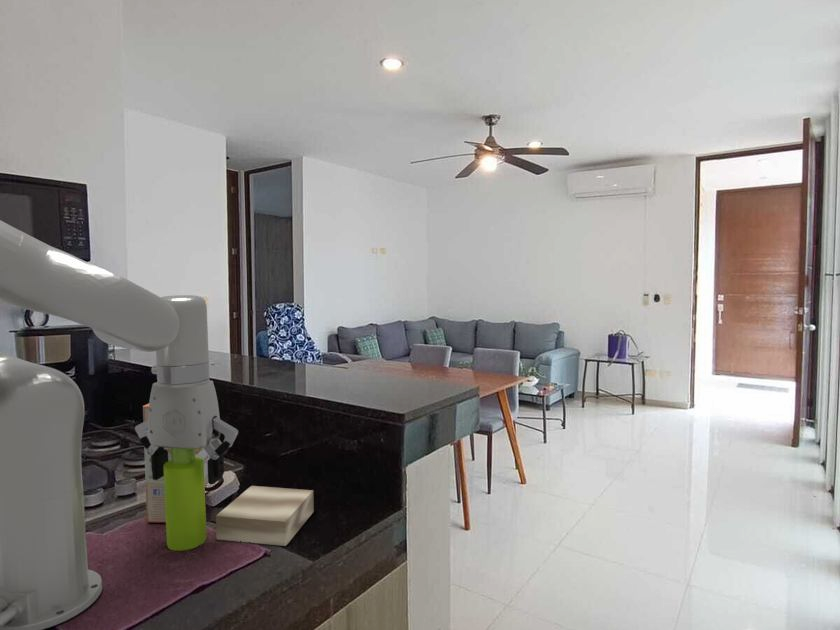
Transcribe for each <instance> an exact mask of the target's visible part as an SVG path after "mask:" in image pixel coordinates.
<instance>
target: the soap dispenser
mask: <svg viewBox="0 0 840 630" xmlns="http://www.w3.org/2000/svg"><path fill="white" fill-rule="evenodd" d="M171 450H172V460H170V461H168V462H166V463H165V464H164V466H163V469H164V491H165V513H166V523H165V528H166V529H165V531H166V546H167V548H168V549H169V550H170V551H175V552H176V551H177V552H178V551H179V552H182V551H188V550H192V549H195V548H197V547H200V546H201V545H203V544H204V543H205V542H206V541H207V513H206V509H207V508H206V495H205V482H204V460H203V459H202V458H200V457H195V449H182V448H171ZM205 540H206V541H205ZM199 545H200V546H199Z"/></svg>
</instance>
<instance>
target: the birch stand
mask: <svg viewBox="0 0 840 630" xmlns="http://www.w3.org/2000/svg"><path fill="white" fill-rule="evenodd" d="M314 504H315V503H314V490H313V489H311V490H310V489H302V488H301V489H298V488H286V487H285V488H284V487H275V486H259V485H258V486H257V485H251V486H249V487H248V488H246V490H244V491H243V492H242V493H241V494H240V495H239V496H238V497H236V498H235V499H234V500H232V501H231V502H230V503H229V504H228V505H227V506H225V507H224V508H222V510H221V511H220V512H218V513H217V514H216V515H215V531H216V533H215V534H216V540H220V541H230V542H240V541H241V542H242V543H249V542H250V543H249V544H251V543H252V544H261V545H262V544H263V545H272V546H280V547H281V546H284V547H286V546H287V545H288V544H289V543H290V542H291V541H292V539H293V538H294V537H295V535H296V534H297V533H298V532H299V531H300V529H301V528H302V527H303V525H304V524H305V523H306V522H307V520H308V519H309V518H310V517H311V516H312V514H314V512H315V509H314Z"/></svg>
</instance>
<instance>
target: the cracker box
mask: <svg viewBox="0 0 840 630" xmlns="http://www.w3.org/2000/svg"><path fill="white" fill-rule="evenodd" d="M148 413H149V403H147V404H145V405H142V419H143V422H145V421H147V420H148ZM143 422H142V423H143ZM143 447H144V446H143ZM164 449H166V450H167V451H168V461H170V460H172V450H171V448H166V447H165V448H164ZM143 450H144V453H143V454H144V475H145V476H144V477H145V479H144V480H145V506H146V522H147V523H152V524H153V523H158V524H160V523H163V524H164V523H165V524H166V513H165V491H164V476H163V477H161V478H159V479H158V480H153V477H152V467H151V456H150V455H148V454H147V449H146V448H145V447H144V448H143ZM195 457H200V458H202V459H203V460H204V482H205V487H206V486H207V484H208V464H207V462H208V460H209V459H210V458H211V457H210V456H209V455H208V453H207V452H206V451H205V449H204V448H201V449H195Z"/></svg>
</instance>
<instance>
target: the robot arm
mask: <svg viewBox="0 0 840 630" xmlns="http://www.w3.org/2000/svg"><path fill="white" fill-rule="evenodd" d="M0 301H1V302H4V303H7V304H9V305H11V306H16V307H19V308H21V309H24V310H28V311H30V312H36V313H39V314H40V313H41V314H45V315H50V316H54V317H59V318H61V319H65V320H68V321H71V322H74V323H77V324H79V325H83V326H85V327H88V328H91V329H92V331H93V334H95V336H96V337H97V339H99V340H100V341H102V342H104V343H106V344H107V345H110V346H114V347H118V348H124V349H129V350H130V349H131V350H135V351H140V352H145V353H152V352H155V359H156V365H152V367H151V369H150V370H151V373H152V374H153V375H156V380H157V382H156V381H155V382H154V383H152V386H151V391H150V396H149V400H148V401H149V402H148V404H149V413H148V420H147V421H145V422H141V423H139V424H137V425H136V426H135V427H134V430H135V432H136V434H137V436H138V438H139V440H140V441H139V442H140V444H141V445H142V446H143V447H145V448H146V449H147V454H148V455H150V456H151V467H152V477H153V480H158V479H159V478H161V477H163V476H164V469H163V466H164V464H165V463H166V462H168V451H167V450H166V449H164V448H165V447H166V448H182V449H201V448H204V449H205V451H206V452H207V453H208V455H209V457H210V459H209V460H208V462H207V464H208V483H209V484H210V485H214V484H215V483H217V482H218V481H220V480H221V479H222V478H223V477H224V474H225V464H224V463H225V461H224V457H225V456H224V455H225V454H226V453H227V452H228V451H229V450H230V449H231V448H232V447H233V445H234V443H235V440H236V438H237V436H238V434H239V430H238V429H237V428H236V427H234V426H232V425H230V424H229V423H227V422H225V421H223V420H222V419H221V417H220V409H219V401H218V400H219V399H218V396H217V391H216V388H215V385H214V381H213V380H210V362H209V360H210V358H209V357H210V355H209V354H210V353H209V332H208V330H209V328H208V307H207V303H206V300H205V299H204V298H203V297H202V296H199V295H191V294H190V295H187V294H186V295H185V294H184V295H183V294H181V295H180V294H179V295H166V296H165V295H164V296H159V295H158V294H157V295H156V294H155V293H153V292H152V291H150V290H148V289H146V288H144V287H142V286H141V285H138V284H136V283H134V282H132V281H131V280H129V279H127V278H124V277H122V276H121V275H118V274H116V273H114V272H111V271H109V270H107V269H104V268H102V267H100V266H97V265H95V264H93V263H90V262H88V261H85V260H83V259H82V258H80V257H77V256H75V255H73V254H71V253H68V252H66V251H64V250H62V249H59V248H57V247H54V246H51V245H49V244H47V243H46V242H43V241H41V240H39V239H37V238H36V237H34V236H31V235H30V234H27V233H26V232H24V231H22V230H19V229H18V228H16V227H14V226H12V225H10V224H9V223H6V222H4V221H3V220H1V219H0ZM84 421H85V401H84V396H83V394H82V391H81V389H80V388H79V386H78V384H77V383H76V382H75V381H74V380H73V379H72V378H71V377H70V376H69V375H67V374H66V373H64V372H62V371H61V370H58V369H56V368H53V367H50V366H46V365H43V364H38V363H34V362H31V361H27V360H25V359H22V358H20V357H16V356H13V355H12V354H9V353H6V352H3V351H2V350H1V351H0V630H46V629H49V628H51V627H55V626H56V625H59V624H61V623H64V622H66V621H69V620H70V619H72V618H74V617H76V616H78V615H79V614H81V613H82V612H84V611H85V610H87V609H88V608H89V607H91V605H92V604H94V602H96V600H97V599H98V598H99V596H100V595H101V593H102V590H103V579H102V577H101V576H102V575H100V574H99V573H98V572H96V571H95V570H92V569H89V567H88V566H89V565H88V551H87V536H86V516H85V502H84V486H83V485H84V483H83V471H82V438H83V429H84V428H83V427H84ZM221 434H222V435H223V436H224V440H223V442H222V441H221V440H220V438H221V437H220V436H221Z"/></svg>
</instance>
